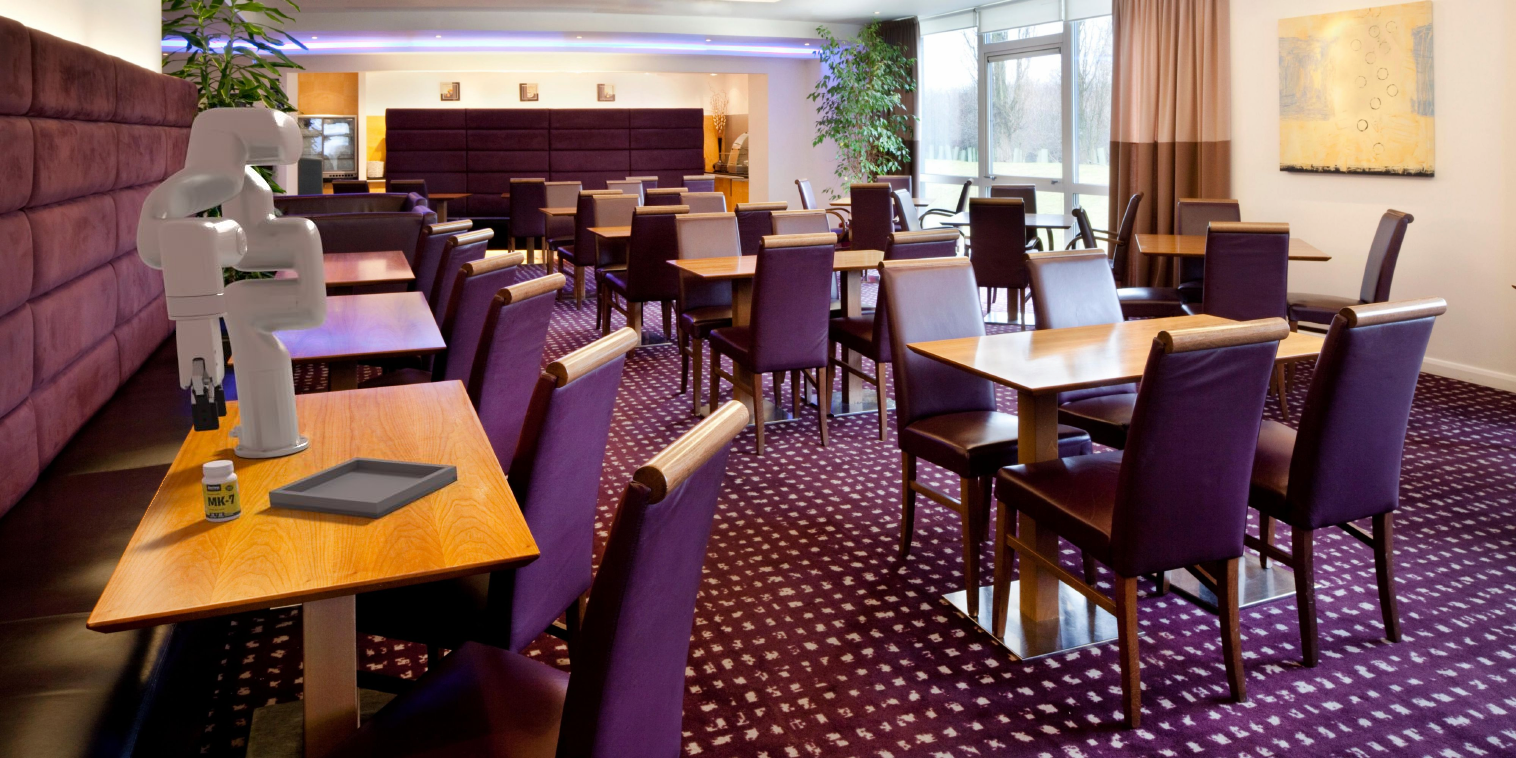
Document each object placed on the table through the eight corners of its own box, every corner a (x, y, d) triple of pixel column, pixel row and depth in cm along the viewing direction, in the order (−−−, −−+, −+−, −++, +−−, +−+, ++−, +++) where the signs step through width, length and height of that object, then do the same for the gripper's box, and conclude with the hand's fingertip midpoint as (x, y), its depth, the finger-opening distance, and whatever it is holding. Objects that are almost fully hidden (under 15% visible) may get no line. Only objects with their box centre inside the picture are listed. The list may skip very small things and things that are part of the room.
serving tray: (270, 506, 163) (268, 491, 162) (358, 470, 181) (356, 457, 181) (377, 518, 156) (376, 502, 156) (457, 479, 175) (456, 465, 174)
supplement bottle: (206, 524, 155) (199, 469, 153) (206, 515, 159) (198, 462, 157) (242, 519, 157) (235, 464, 155) (241, 510, 161) (234, 457, 159)
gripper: (176, 303, 158) (190, 414, 161) (157, 315, 142) (173, 438, 145) (232, 300, 161) (244, 409, 164) (219, 311, 145) (233, 433, 148)
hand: (211, 423), depth 155 cm, fingers open, 9 cm apart
